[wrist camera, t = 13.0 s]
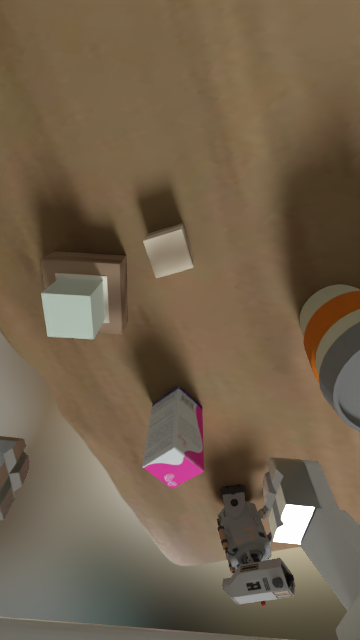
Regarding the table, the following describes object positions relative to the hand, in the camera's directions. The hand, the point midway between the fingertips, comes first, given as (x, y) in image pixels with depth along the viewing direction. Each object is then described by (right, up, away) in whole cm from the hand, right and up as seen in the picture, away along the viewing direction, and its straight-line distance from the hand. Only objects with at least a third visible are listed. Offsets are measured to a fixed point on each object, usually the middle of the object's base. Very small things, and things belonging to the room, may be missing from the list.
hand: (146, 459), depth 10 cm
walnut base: (-10, +9, +30) cm, 33 cm away
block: (0, +14, +28) cm, 31 cm away
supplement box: (+1, -9, +39) cm, 40 cm away
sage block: (-10, +7, +27) cm, 30 cm away
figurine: (+14, -29, +48) cm, 57 cm away
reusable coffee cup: (+22, +5, +31) cm, 38 cm away
